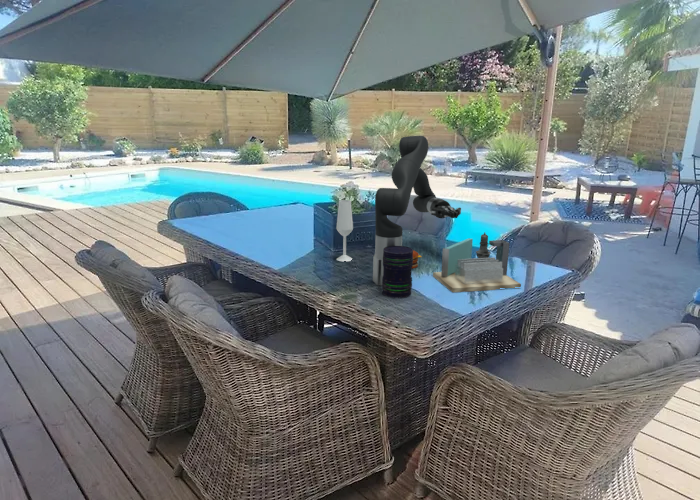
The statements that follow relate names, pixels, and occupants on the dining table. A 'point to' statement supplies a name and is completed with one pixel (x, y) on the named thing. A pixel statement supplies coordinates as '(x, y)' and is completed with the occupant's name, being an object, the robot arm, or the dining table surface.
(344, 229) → the champagne flute
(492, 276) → the cooler block
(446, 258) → the teal upright panel
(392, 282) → the storage jar
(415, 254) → the hamburger
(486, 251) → the chess piece
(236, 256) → the dining table surface
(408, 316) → the dining table surface
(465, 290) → the mounting board
